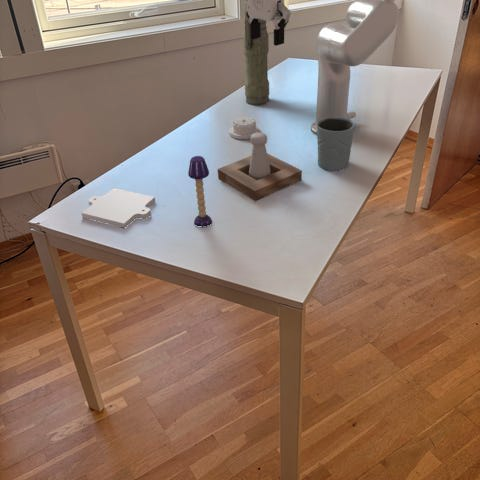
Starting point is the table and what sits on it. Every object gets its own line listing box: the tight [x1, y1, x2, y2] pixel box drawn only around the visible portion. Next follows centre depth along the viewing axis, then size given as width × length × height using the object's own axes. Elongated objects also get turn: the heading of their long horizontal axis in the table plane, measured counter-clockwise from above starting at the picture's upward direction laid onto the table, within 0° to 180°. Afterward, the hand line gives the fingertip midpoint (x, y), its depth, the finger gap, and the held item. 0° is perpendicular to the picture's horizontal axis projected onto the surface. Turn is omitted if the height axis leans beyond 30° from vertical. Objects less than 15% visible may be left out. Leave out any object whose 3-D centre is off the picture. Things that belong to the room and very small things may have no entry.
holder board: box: [217, 152, 303, 202], centre depth 129 cm, size 16×16×3 cm
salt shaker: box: [248, 132, 271, 180], centre depth 126 cm, size 6×6×13 cm
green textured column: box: [242, 0, 270, 106], centre depth 168 cm, size 9×12×35 cm
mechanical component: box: [228, 116, 261, 140], centre depth 154 cm, size 10×4×10 cm
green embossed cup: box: [316, 117, 356, 172], centre depth 131 cm, size 10×10×12 cm
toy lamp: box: [187, 155, 213, 228], centre depth 109 cm, size 5×5×17 cm
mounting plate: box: [80, 187, 156, 229], centre depth 120 cm, size 18×13×2 cm
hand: (267, 41), depth 129 cm, fingers open, 9 cm apart
